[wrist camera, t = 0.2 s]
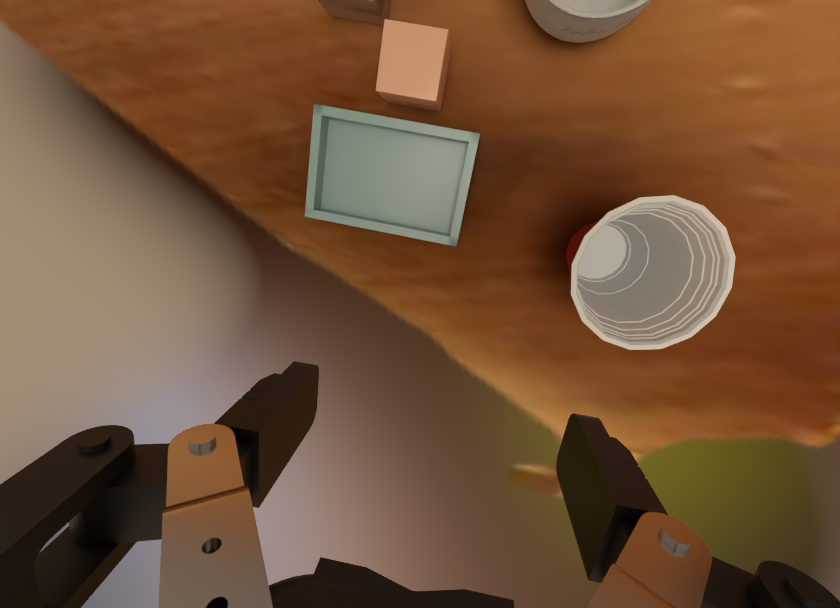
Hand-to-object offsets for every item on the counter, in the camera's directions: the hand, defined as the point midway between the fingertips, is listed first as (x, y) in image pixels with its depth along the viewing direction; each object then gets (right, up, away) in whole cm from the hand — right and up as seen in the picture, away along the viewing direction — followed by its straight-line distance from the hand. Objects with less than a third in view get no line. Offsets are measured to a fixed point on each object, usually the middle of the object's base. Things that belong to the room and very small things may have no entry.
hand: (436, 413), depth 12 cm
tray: (-3, +16, +26) cm, 30 cm away
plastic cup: (+17, +9, +26) cm, 32 cm away
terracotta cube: (-1, +24, +23) cm, 33 cm away
